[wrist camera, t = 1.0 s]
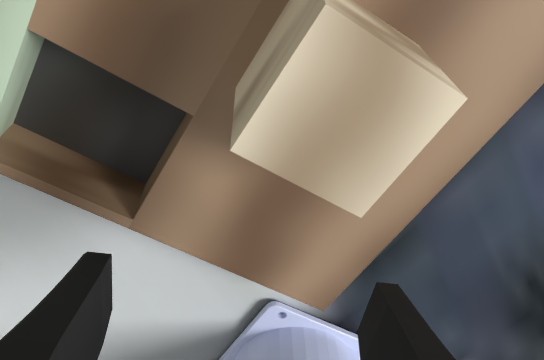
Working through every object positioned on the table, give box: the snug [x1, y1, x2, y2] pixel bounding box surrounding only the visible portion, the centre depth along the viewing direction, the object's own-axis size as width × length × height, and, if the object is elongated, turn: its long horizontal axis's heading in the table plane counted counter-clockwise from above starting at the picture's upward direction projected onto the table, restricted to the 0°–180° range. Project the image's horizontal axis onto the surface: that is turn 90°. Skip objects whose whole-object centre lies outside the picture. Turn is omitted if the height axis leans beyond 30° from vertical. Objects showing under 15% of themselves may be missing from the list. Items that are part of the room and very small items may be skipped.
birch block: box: [230, 0, 468, 218], centre depth 15 cm, size 4×4×4 cm
